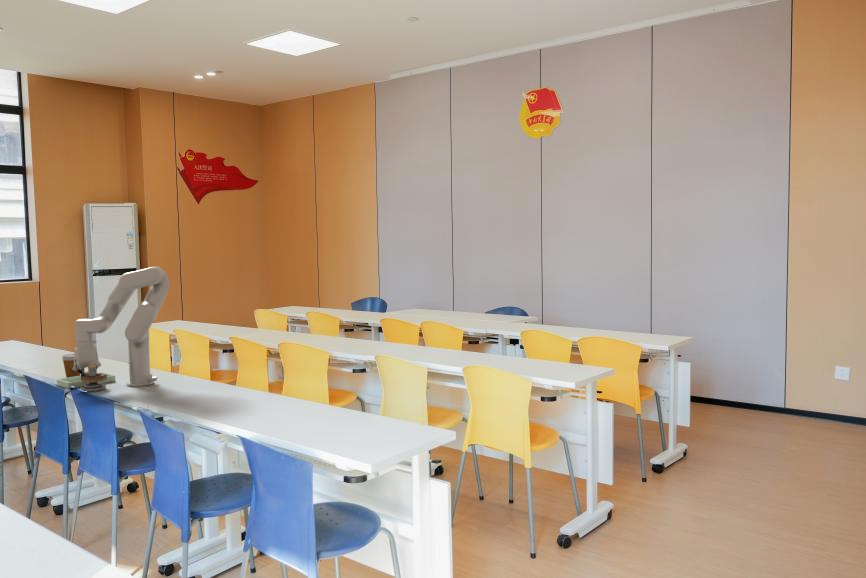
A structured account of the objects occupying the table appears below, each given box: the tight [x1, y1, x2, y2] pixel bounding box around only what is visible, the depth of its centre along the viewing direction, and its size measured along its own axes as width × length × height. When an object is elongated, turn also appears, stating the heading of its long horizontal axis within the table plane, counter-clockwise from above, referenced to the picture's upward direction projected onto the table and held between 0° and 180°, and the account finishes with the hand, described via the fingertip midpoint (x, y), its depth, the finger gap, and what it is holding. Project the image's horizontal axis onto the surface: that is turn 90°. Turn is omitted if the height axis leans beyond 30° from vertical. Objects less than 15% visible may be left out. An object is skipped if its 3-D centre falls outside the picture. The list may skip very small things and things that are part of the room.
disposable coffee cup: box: [61, 353, 81, 378], centre depth 365 cm, size 10×10×12 cm
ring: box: [82, 370, 108, 383], centre depth 336 cm, size 16×10×3 cm, turn 48°
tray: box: [56, 371, 116, 390], centre depth 349 cm, size 23×15×3 cm, turn 138°
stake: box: [80, 364, 107, 393], centre depth 334 cm, size 11×11×12 cm
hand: (88, 380), depth 339 cm, fingers closed on ring, 3 cm apart
